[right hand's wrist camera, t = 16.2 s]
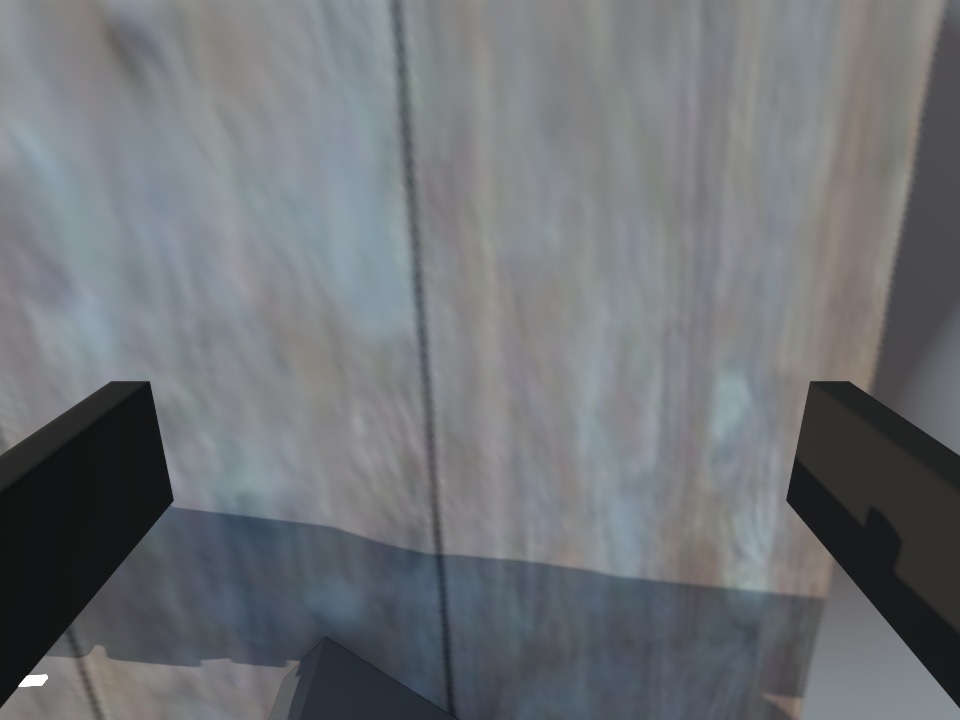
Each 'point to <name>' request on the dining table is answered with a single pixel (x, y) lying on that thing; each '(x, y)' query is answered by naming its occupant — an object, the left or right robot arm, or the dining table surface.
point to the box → (347, 691)
